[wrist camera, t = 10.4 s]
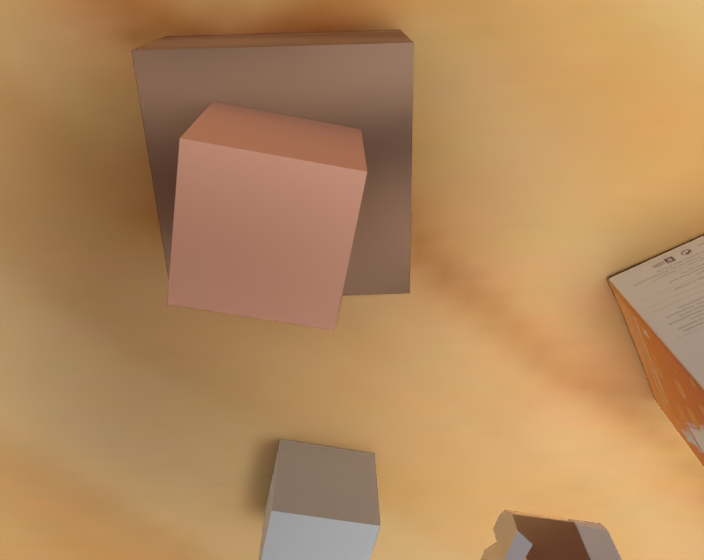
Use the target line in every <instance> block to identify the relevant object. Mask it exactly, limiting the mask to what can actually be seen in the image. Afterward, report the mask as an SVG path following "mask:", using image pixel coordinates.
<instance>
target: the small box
mask: <svg viewBox="0 0 704 560" xmlns="http://www.w3.org/2000/svg"><path fill="white" fill-rule="evenodd" d="M608 282H609V285H610V287H611V289H612V291H613V293H614V295H615V297H616V300H617V302H618V304H619V307H620V309H621V311H622V314H623V316H624V319H625V321H626V324H627V326H628V329H629V331H630V334H631V336H632V339H633V341H634V344H635V346H636V349H637V352H638V354H639V357H640V360H641V362H642V365H643V367H644V370H645V373H646V375H647V378H648V381H649V383H650V386H651V389H652V392H653V394H654V398H655V400H656V402H657V403H658V404H659V406H660V407H661V409H662V410H663V411H664V413H665V414H666V415H667V417H668V418H669V419H670V421H671V422H672V424H673V425H674V426H675V428H676V429H677V431H678V432H679V433H680V434H681V436H682V437H683V439H684V440H685V441H686V443H687V444H688V445H689V447H690V448H691V449H692V451H693V452H694V454H695V455H696V456H697V458H698V459H699V460H700V462H701V463H702V465H703V466H704V235H703V236H701V237H699V238H697V239H695V240H693V241H690V242H688V243H686V244H683V245H681V246H679V247H677V248H675V249H673V250H670V251H668V252H666V253H663V254H661V255H659V256H657V257H655V258H653V259H650V260H648V261H646V262H644V263H642V264H640V265H637V266H635V267H633V268H631V269H629V270H626V271H624V272H622V273H620V274H618V275H615V276H613V277H611V278H610V279H609V280H608Z"/></svg>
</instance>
